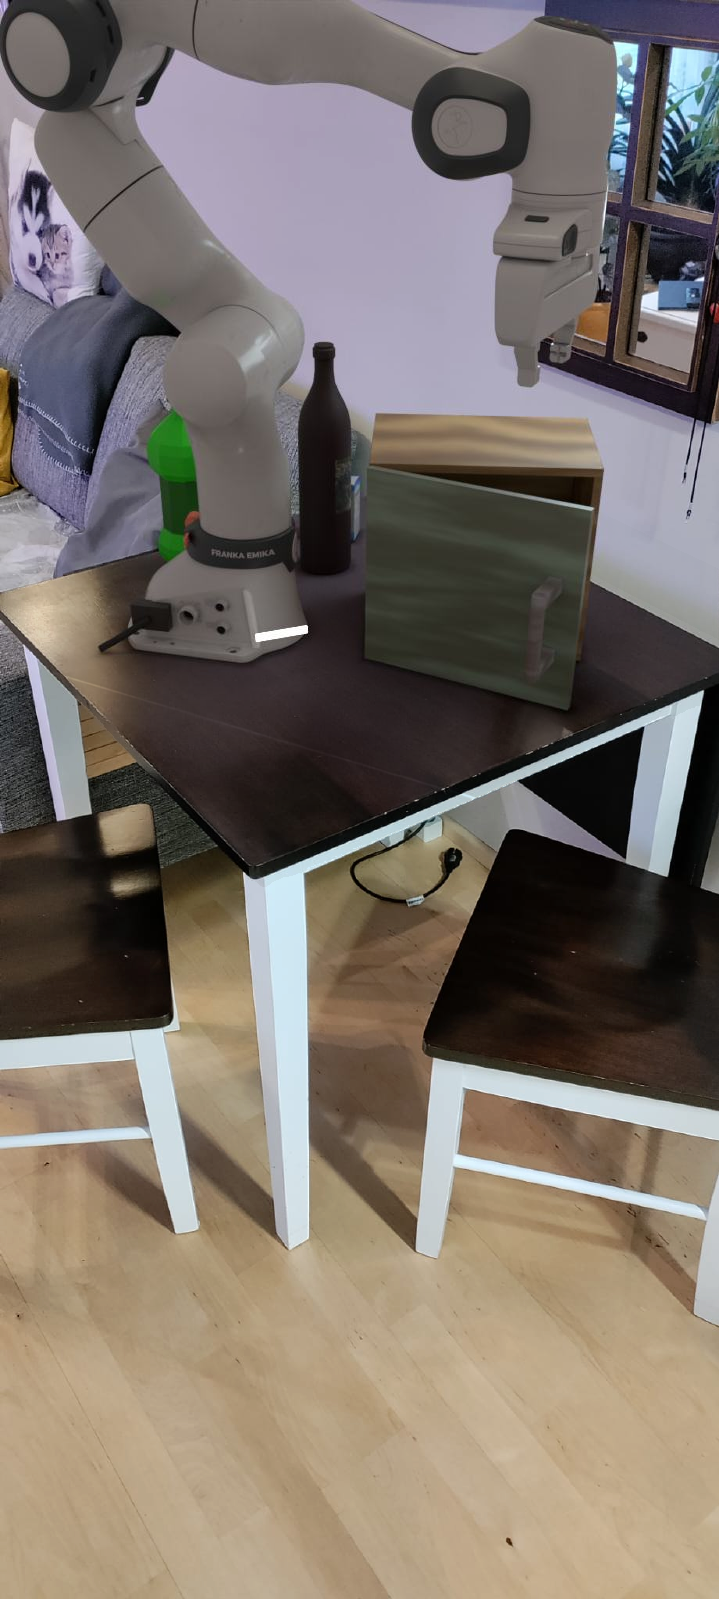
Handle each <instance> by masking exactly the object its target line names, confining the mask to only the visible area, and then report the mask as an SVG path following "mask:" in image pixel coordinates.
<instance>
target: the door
mask: <svg viewBox="0 0 719 1599" xmlns="http://www.w3.org/2000/svg"><path fill="white" fill-rule="evenodd" d="M365 508H366V512H365V513H366V514H365V516H366V518H365V519H366V520H365V521H366V522H365V598H364V599H365V601H364V603H365V606H364V607H365V608H364V614H365V615H364V659H366V660H371V661H374V662H378V663H382V664H385V665H386V664H387V665H390V666H394V667H398V668H401V669H406V670H408V671H414V672H417V673H422V674H425V675H429V676H432V677H436V678H440V679H444V680H448V681H452V682H456V683H459V684H463V685H467V686H471V687H475V688H479V689H483V690H487V691H489V692H494V693H499V694H501V695H506V696H510V697H513V698H518V699H520V700H521V699H522V700H525V701H529V702H533V703H537V704H541V705H545V706H549V707H552V708H556V709H559V710H564V711H568V710H569V709H570V707H571V704H572V697H573V696H572V693H573V688H574V686H573V685H574V679H575V673H576V672H575V671H576V664H577V663H576V662H577V660H576V656H577V647H578V639H579V631H580V623H581V615H582V607H583V599H584V591H585V583H586V574H587V566H588V558H589V550H590V542H591V534H592V526H593V518H594V510H595V508H593V507H587V506H582V505H577V504H572V503H566V502H561V501H556V500H551V499H545V498H540V497H535V496H529V495H524V494H519V493H514V492H508V491H503V490H498V489H493V488H487V487H482V486H477V485H472V484H466V483H461V482H456V481H450V480H445V479H440V478H435V477H429V476H424V475H419V474H414V473H408V472H403V471H398V470H392V469H387V468H382V467H377V466H369V465H368V467H366V507H365Z"/></svg>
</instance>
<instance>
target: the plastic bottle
mask: <svg viewBox="0 0 719 1599" xmlns="http://www.w3.org/2000/svg"><path fill="white" fill-rule="evenodd" d="M165 397H166V396H165ZM166 402H167V403H169V401H168V399H167V397H166ZM170 408H171V412H170V413H169V414H168V415H167V416H166V417H164V418H163V420H161V422H160V423H159V424H158V425H157V426H155V428H154V429H152V431H151V434H150V436H149V438H148V442H147V446H146V456H147V460H148V464H149V467H150V469H151V470H152V471H153V472H155V473H156V475H158V480H159V489H160V490H159V491H160V501H161V512H162V528H161V531H160V534H159V538H158V541H157V544H158V545H157V546H158V551H159V552H158V553H159V554H160V555H161V557H162V559H163V560H164V561H165V562H166V563H168V562H169V561H170V560H172V559H173V558H175V557H176V556H177V555H179V554H180V553H181V552H183V551H184V550H185V547H184V530H185V528H186V526H185V521H186V519H187V516H188V515H189V513H190V512H192V511H197V512H199V503H198V491H197V479H196V469H195V462H194V457H193V452H192V448H191V445H190V441H189V438H188V435H187V432H186V428H185V425H184V422H183V419H182V417H180V416H179V415H178V414H177V413H176V411H175V410H174V409H173V408H172V406H171V405H170Z"/></svg>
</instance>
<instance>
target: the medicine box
mask: <svg viewBox="0 0 719 1599" xmlns="http://www.w3.org/2000/svg"><path fill="white" fill-rule="evenodd" d="M360 498H361V476H360V475H351V542H355V540H356V538H357V536H358V534H359V532H360V509H361V508H360V506H361V504H360V503H361V499H360Z"/></svg>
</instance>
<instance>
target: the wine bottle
mask: <svg viewBox="0 0 719 1599" xmlns="http://www.w3.org/2000/svg"><path fill="white" fill-rule="evenodd" d="M312 358H313V362H314V363H313V369H314V371H313V380H312V384H311V387H310V389H309V391H308V393H307V395H306V397H305V398H304V401H303V402H302V406H301V408H300V411H299V416H298V421H297V463H298V466H297V467H298V468H297V469H298V471H297V472H298V513H299V514H298V515H299V554H300V555H299V561H300V565H301V568H302V569H303V570H304V571H307V572H308V573H312V574H317V575H335V574H340V573H343V572H345V571H346V570H348V569H349V568H350V565H351V563H352V562H351V561H352V541H351V476H352V421H351V417H350V411H349V409H348V406H347V404H346V402H345V400H344V398H343V396H342V394H341V392H340V391H339V390H340V389H339V388H338V385H337V383H336V377H335V362H334V361H335V358H336V347H335V344H334V343H333V342H330V341H317V342H315V343H314V344H313V347H312Z"/></svg>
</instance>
